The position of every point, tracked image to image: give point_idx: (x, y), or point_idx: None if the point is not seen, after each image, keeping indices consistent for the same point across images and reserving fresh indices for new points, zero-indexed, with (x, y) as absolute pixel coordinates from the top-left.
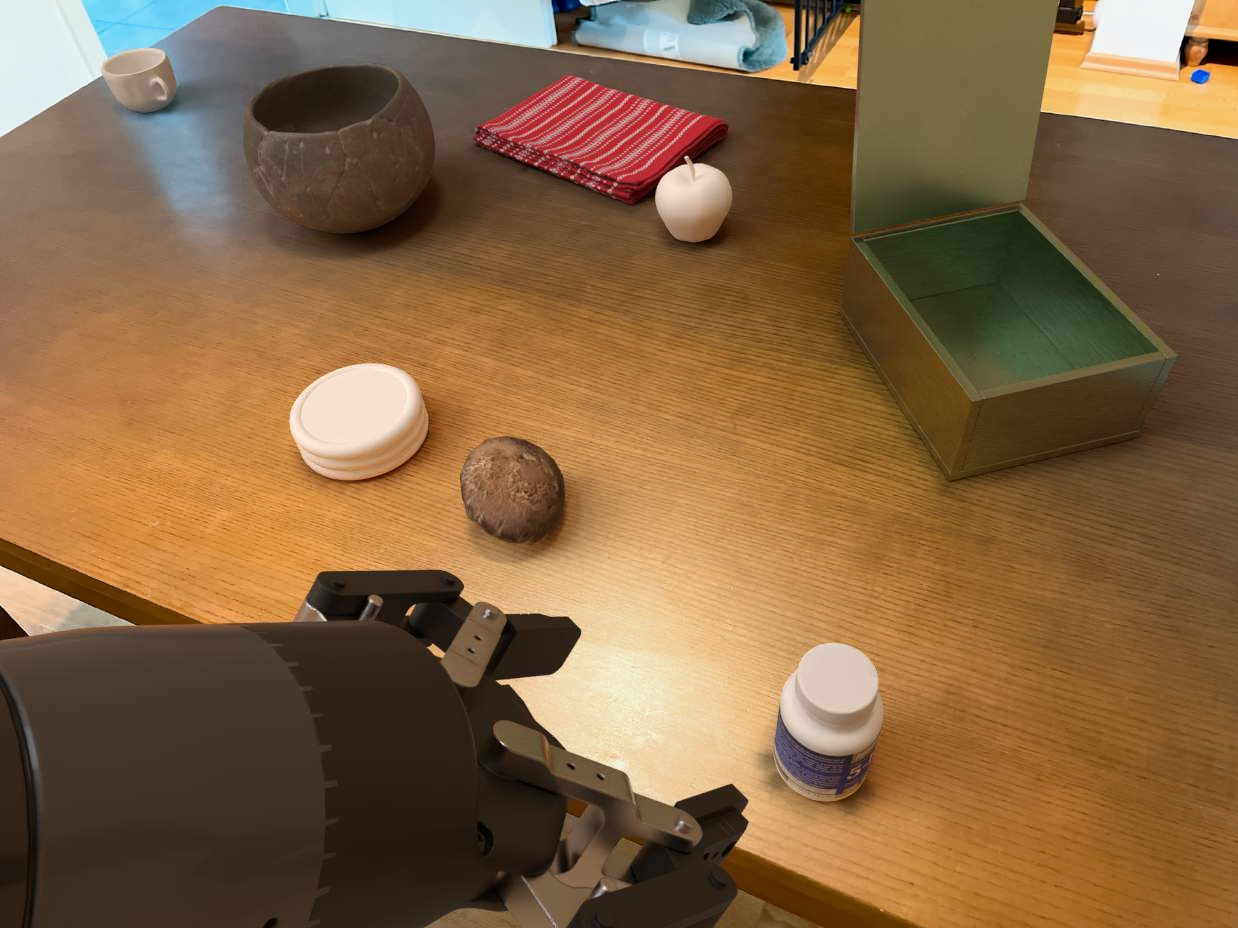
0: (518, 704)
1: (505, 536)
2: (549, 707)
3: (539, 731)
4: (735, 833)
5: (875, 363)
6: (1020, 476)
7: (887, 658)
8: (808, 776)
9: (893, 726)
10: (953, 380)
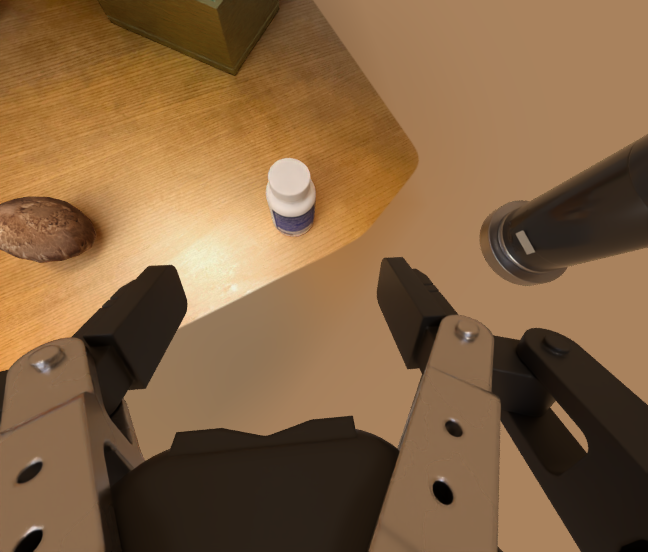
0: (224, 451)
1: (72, 253)
2: None
3: (297, 454)
4: (433, 285)
5: (153, 37)
6: (256, 54)
7: None
8: (301, 226)
9: None
10: (197, 3)
